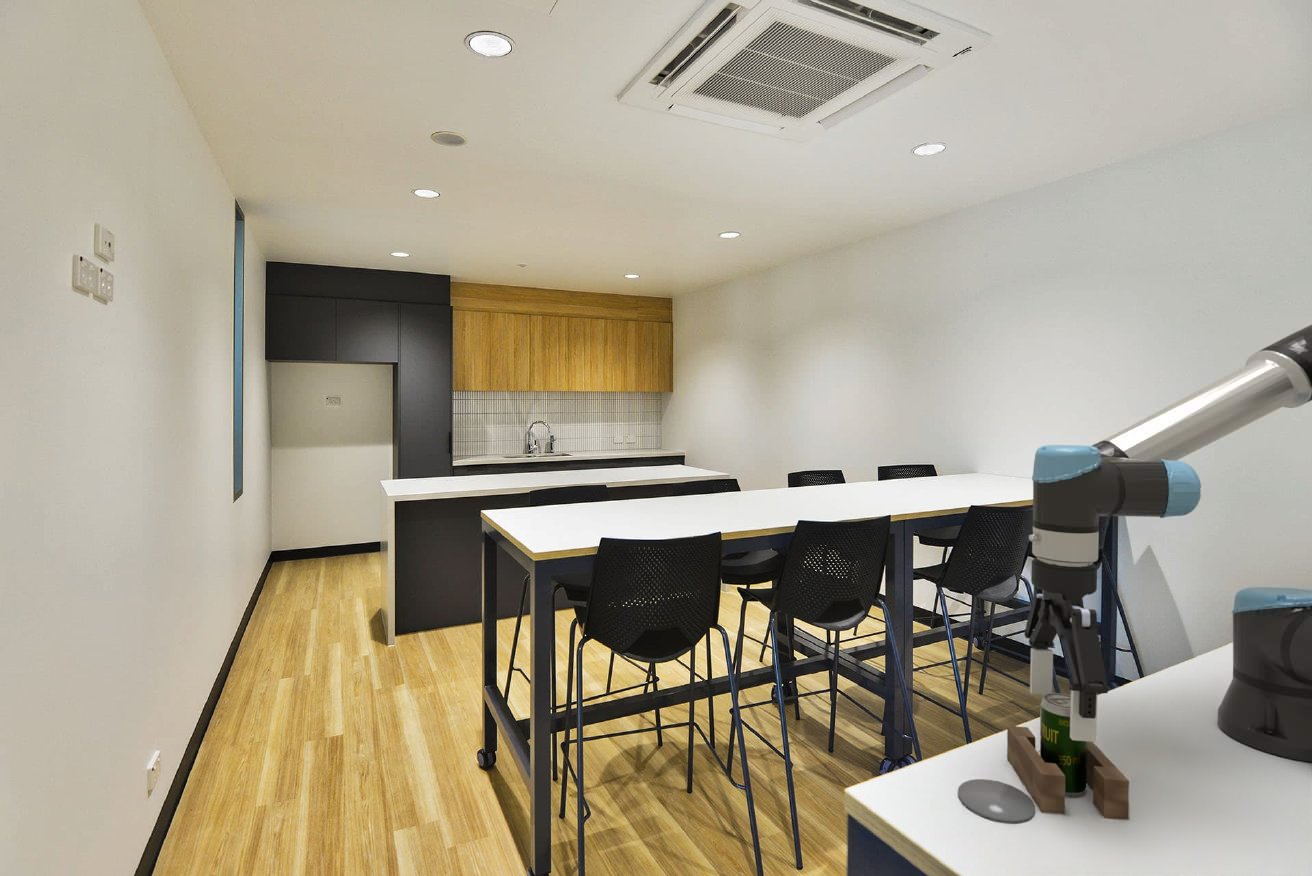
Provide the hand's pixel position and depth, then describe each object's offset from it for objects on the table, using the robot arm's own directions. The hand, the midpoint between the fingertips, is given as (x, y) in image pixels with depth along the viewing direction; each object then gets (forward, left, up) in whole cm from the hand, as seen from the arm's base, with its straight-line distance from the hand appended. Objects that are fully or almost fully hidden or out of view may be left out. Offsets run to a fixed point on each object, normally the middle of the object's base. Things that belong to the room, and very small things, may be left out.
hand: (1060, 715), depth 90 cm
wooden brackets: (0, 0, -10) cm, 10 cm away
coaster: (+10, +5, -10) cm, 15 cm away
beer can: (0, 0, -10) cm, 10 cm away
